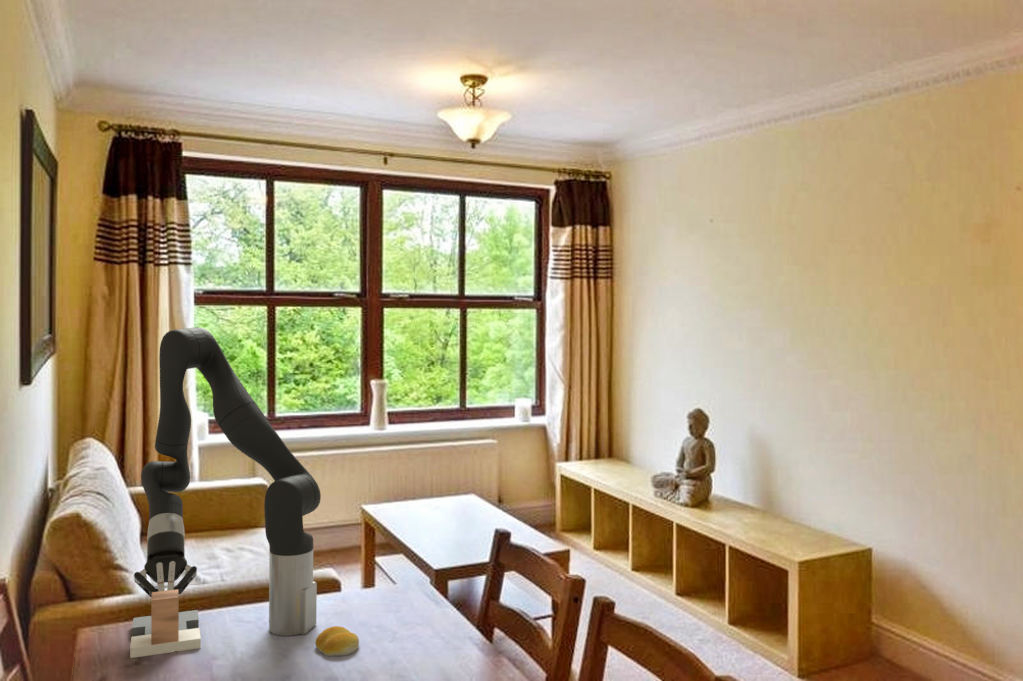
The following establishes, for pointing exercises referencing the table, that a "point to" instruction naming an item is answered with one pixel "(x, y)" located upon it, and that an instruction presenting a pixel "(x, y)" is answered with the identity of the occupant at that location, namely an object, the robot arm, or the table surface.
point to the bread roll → (337, 641)
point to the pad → (165, 644)
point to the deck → (185, 622)
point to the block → (164, 617)
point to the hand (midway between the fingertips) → (165, 612)
